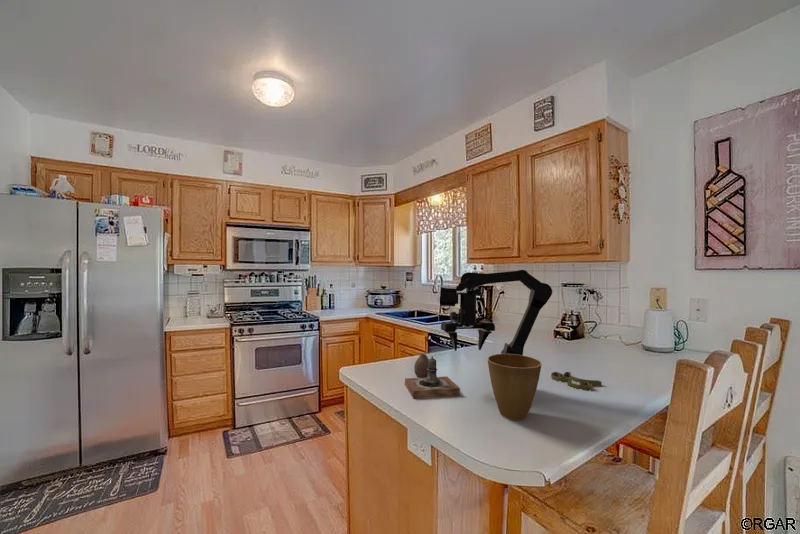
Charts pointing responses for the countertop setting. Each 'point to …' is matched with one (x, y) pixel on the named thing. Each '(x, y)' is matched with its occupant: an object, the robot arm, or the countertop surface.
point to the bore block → (431, 388)
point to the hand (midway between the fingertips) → (467, 350)
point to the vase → (421, 366)
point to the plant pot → (514, 383)
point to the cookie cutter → (583, 383)
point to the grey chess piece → (432, 374)
